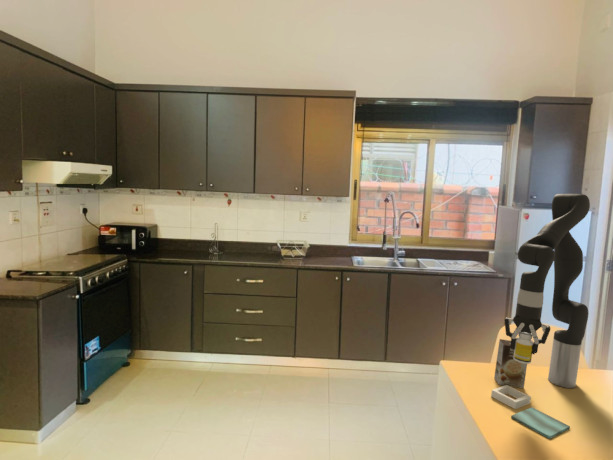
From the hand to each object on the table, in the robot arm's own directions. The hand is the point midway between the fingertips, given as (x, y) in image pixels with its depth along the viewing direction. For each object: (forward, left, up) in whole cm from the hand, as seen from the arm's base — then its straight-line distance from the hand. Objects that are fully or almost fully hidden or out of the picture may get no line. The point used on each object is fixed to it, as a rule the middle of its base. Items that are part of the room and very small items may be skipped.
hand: (523, 351), depth 134 cm
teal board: (+3, +10, -20) cm, 22 cm away
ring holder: (-2, -3, -20) cm, 20 cm away
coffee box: (-14, -11, -20) cm, 27 cm away
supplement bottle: (0, 0, -4) cm, 4 cm away
